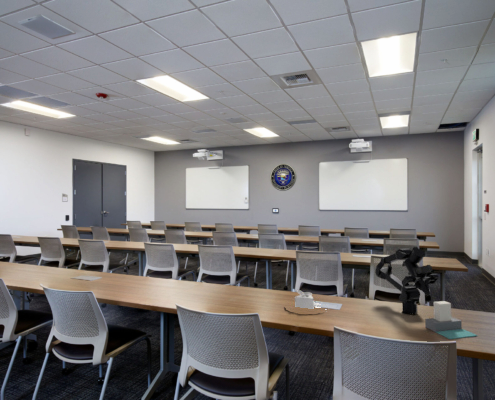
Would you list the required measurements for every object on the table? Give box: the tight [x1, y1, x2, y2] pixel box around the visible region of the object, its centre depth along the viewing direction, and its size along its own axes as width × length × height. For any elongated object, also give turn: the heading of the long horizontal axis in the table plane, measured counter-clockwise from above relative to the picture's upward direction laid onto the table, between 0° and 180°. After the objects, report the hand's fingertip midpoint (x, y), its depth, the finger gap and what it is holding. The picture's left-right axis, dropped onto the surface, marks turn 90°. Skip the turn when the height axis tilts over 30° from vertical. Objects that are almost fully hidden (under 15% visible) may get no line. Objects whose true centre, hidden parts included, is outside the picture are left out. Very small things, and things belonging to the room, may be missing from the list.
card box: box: [433, 300, 452, 322], centre depth 160 cm, size 4×6×8 cm, turn 101°
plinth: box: [424, 316, 463, 333], centre depth 160 cm, size 6×14×4 cm, turn 101°
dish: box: [294, 289, 327, 310], centre depth 197 cm, size 25×25×11 cm
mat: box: [435, 328, 478, 340], centre depth 152 cm, size 8×14×1 cm, turn 101°
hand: (429, 294), depth 169 cm, fingers closed
